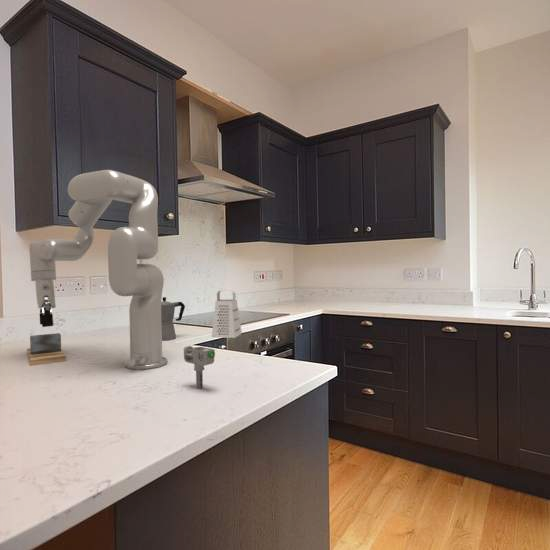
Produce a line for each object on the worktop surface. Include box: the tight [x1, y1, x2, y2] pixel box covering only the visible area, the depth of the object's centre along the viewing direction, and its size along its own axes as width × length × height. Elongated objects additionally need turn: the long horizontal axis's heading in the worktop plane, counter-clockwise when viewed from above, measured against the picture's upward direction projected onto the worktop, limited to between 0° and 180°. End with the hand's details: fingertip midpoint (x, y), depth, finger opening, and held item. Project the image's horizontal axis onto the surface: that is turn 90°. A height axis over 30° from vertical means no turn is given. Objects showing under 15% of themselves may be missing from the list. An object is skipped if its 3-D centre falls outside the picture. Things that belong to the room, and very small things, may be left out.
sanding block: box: [29, 332, 62, 355], centre depth 135 cm, size 9×4×6 cm, turn 125°
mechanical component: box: [183, 345, 216, 389], centre depth 96 cm, size 3×10×10 cm, turn 51°
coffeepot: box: [161, 296, 186, 342], centre depth 166 cm, size 15×9×18 cm, turn 118°
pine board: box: [26, 348, 67, 366], centre depth 135 cm, size 24×10×2 cm, turn 35°
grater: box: [211, 289, 243, 339], centre depth 171 cm, size 10×10×20 cm
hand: (46, 325), depth 135 cm, fingers open, 9 cm apart
